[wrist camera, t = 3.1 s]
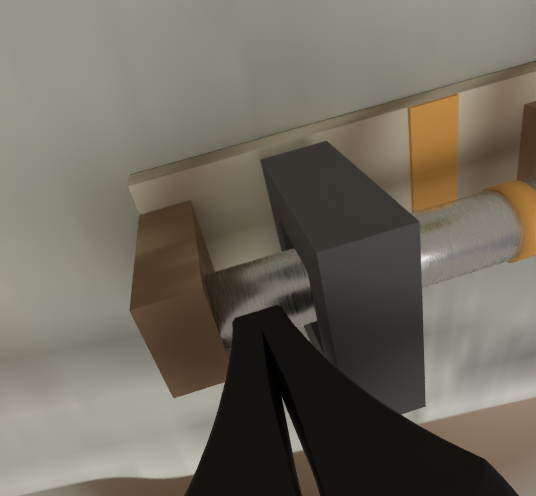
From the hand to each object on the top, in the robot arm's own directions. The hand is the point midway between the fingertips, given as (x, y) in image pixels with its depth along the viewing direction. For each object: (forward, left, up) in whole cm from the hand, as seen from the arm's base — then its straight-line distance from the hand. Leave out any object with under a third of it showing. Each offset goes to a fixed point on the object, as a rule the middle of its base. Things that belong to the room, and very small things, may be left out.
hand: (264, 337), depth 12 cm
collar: (-3, 0, -5) cm, 6 cm away
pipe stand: (-6, 0, -8) cm, 10 cm away
